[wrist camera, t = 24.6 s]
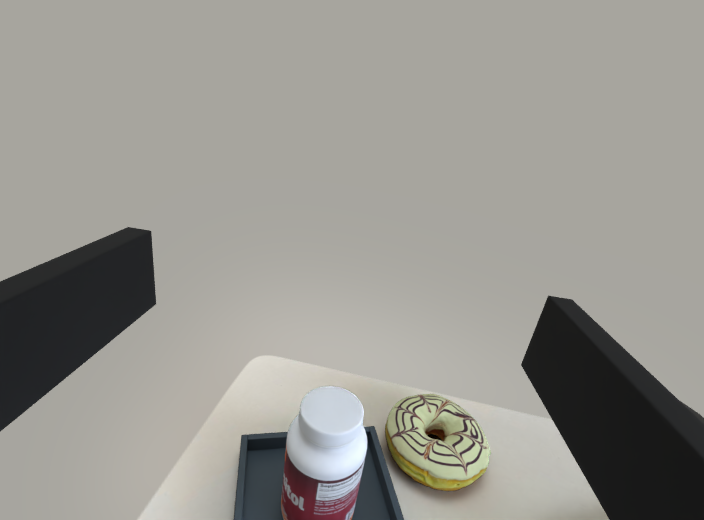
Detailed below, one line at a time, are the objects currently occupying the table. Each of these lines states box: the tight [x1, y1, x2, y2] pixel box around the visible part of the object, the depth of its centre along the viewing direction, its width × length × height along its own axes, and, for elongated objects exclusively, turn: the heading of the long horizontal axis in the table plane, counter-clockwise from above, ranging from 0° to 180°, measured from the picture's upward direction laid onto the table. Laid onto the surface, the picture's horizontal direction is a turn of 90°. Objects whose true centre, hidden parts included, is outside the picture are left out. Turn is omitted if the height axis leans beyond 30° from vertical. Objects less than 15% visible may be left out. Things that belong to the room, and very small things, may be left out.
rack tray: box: [234, 426, 404, 520], centre depth 30 cm, size 13×13×2 cm
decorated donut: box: [385, 394, 491, 491], centre depth 37 cm, size 10×11×4 cm
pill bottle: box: [281, 386, 367, 520], centre depth 28 cm, size 6×6×11 cm
